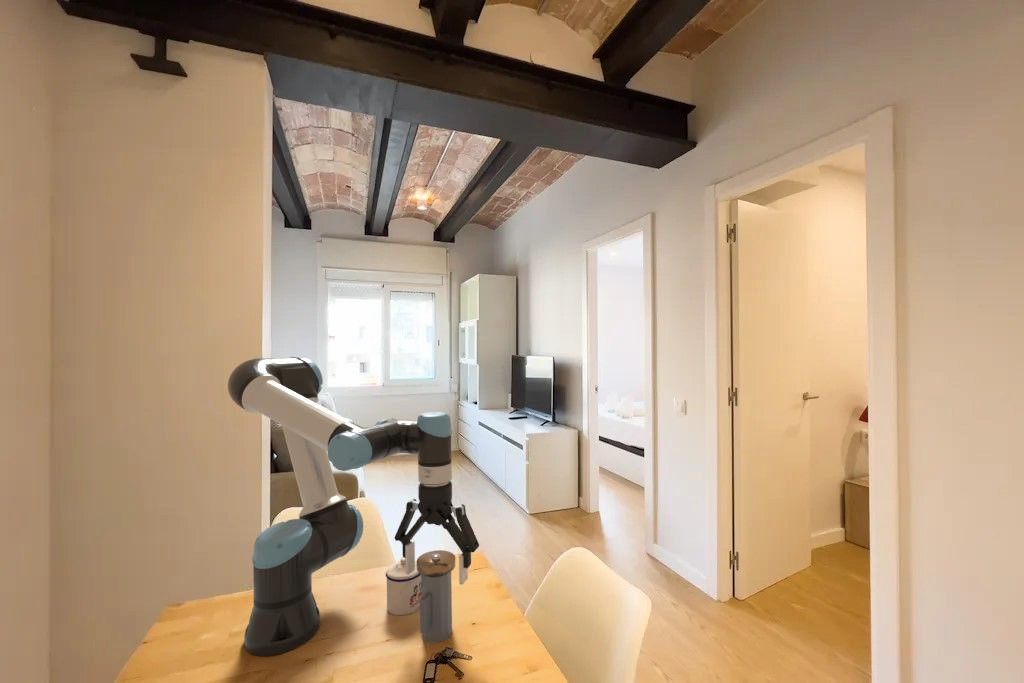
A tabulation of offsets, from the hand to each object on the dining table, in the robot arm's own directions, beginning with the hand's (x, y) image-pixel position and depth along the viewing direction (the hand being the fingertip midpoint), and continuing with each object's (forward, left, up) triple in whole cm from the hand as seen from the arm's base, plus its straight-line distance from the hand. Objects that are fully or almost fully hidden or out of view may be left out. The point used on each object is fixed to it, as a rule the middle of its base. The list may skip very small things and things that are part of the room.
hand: (436, 576), depth 97 cm
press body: (0, -1, -12) cm, 12 cm away
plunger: (0, 0, -10) cm, 10 cm away
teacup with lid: (-13, +8, -13) cm, 20 cm away
